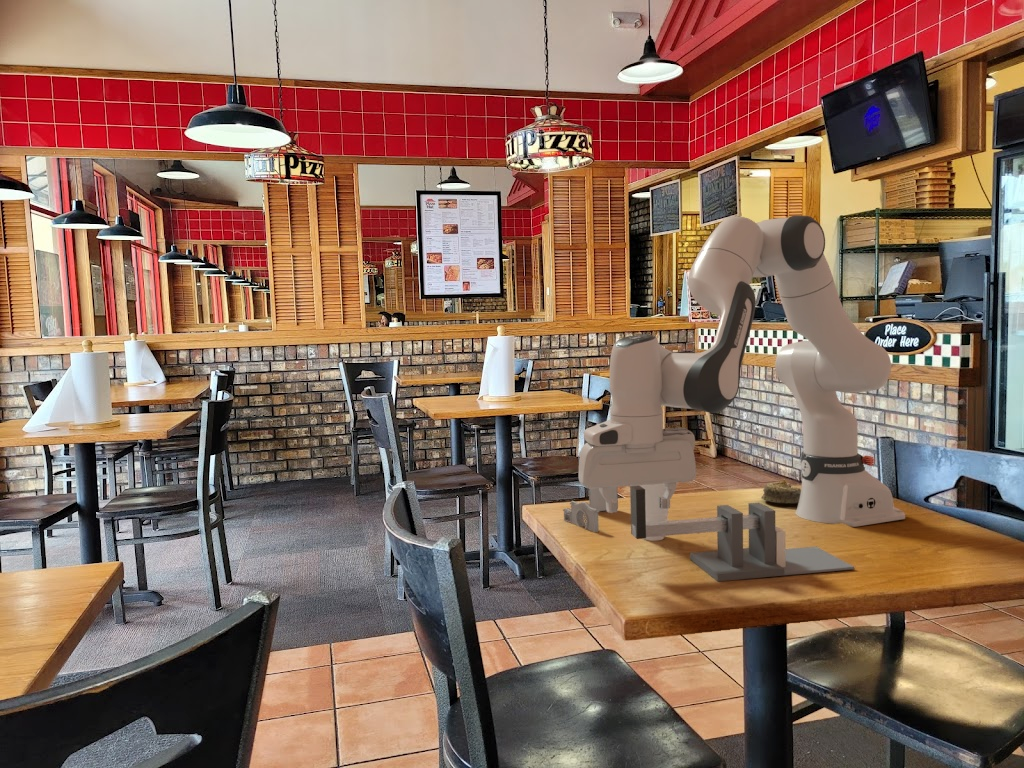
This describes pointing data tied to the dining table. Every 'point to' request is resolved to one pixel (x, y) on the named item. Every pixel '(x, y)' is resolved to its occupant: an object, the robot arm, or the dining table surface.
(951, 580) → the dining table surface
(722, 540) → the bearing stand
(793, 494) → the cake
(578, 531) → the dining table surface
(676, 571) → the dining table surface
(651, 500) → the cup
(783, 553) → the block
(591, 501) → the smartphone
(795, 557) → the mat
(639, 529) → the shaft
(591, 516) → the grey toothed piece
